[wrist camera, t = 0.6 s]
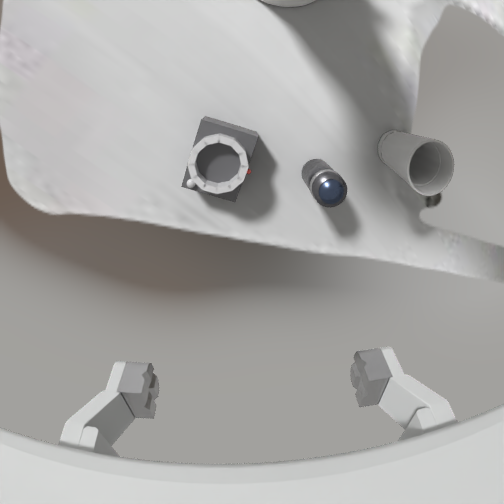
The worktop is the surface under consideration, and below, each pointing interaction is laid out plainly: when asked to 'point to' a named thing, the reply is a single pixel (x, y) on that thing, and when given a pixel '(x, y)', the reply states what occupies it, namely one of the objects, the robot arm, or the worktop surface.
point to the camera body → (219, 158)
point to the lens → (324, 183)
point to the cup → (417, 161)
